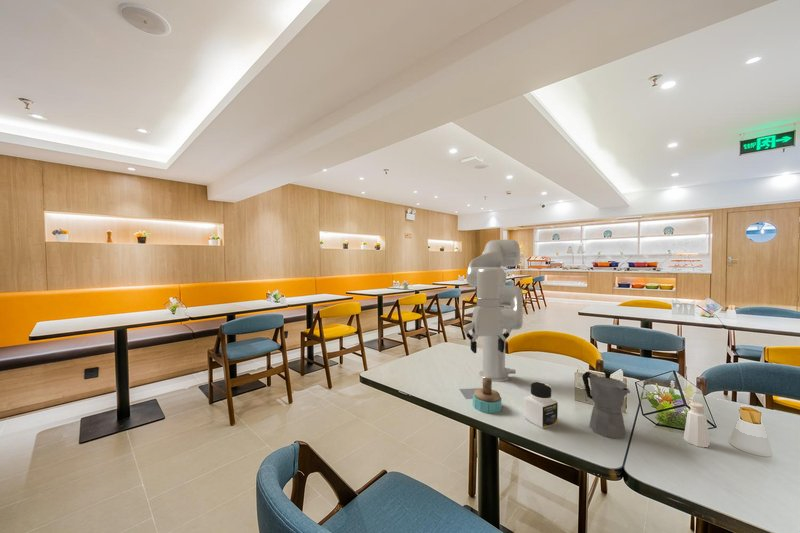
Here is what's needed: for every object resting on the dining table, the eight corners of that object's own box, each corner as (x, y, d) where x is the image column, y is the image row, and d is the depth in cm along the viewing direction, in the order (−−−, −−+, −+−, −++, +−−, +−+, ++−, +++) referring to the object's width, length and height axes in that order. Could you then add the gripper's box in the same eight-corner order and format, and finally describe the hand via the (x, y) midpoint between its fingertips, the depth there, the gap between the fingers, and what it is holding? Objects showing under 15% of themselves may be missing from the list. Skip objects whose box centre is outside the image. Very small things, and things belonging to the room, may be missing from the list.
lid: (494, 391, 111) (494, 374, 111) (503, 401, 103) (504, 383, 103) (471, 392, 111) (471, 375, 111) (479, 402, 102) (479, 384, 102)
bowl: (494, 401, 112) (494, 390, 112) (505, 414, 103) (506, 402, 103) (469, 402, 111) (469, 391, 111) (478, 415, 102) (478, 403, 102)
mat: (480, 389, 123) (480, 388, 123) (489, 399, 114) (489, 397, 114) (459, 390, 122) (459, 388, 122) (465, 400, 113) (466, 398, 113)
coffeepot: (641, 440, 88) (641, 378, 88) (615, 445, 85) (616, 381, 85) (593, 414, 103) (594, 361, 102) (571, 418, 100) (571, 363, 100)
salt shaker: (682, 434, 91) (683, 398, 91) (708, 441, 87) (708, 403, 87) (684, 443, 86) (684, 404, 86) (711, 450, 83) (711, 410, 83)
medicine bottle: (542, 429, 93) (543, 390, 93) (523, 418, 100) (524, 382, 100) (557, 423, 97) (558, 386, 97) (538, 413, 103) (538, 378, 103)
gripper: (506, 301, 111) (506, 348, 111) (460, 302, 110) (460, 349, 110) (516, 304, 104) (516, 354, 104) (467, 305, 102) (466, 355, 102)
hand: (487, 351), depth 107 cm, fingers open, 9 cm apart
